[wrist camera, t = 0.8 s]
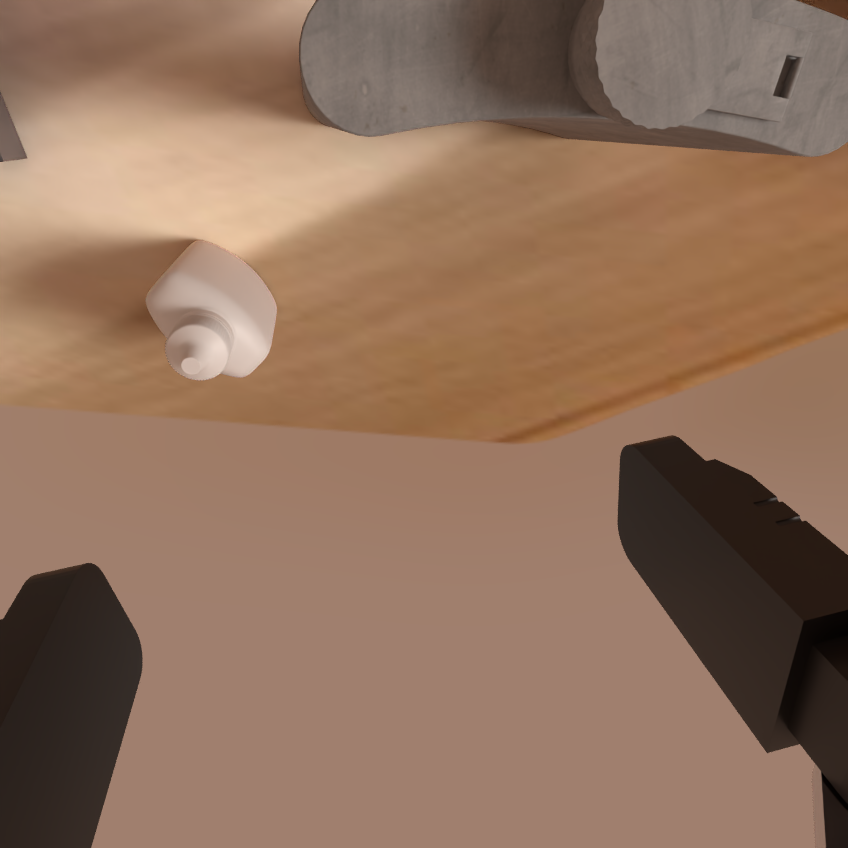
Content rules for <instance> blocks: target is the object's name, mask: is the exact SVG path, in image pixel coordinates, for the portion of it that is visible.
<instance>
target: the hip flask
mask: <svg viewBox="0 0 848 848" xmlns="http://www.w3.org/2000/svg"><path fill="white" fill-rule="evenodd" d="M299 62H300V71H301V79H302V88H303V95H304V100H305V103H306V106H307V107H308V109H309V111H310V113H311V114H312V115H313V116H314V117H315V118H316V119H317V120H318V121H319V122H321V123H322V124H324V125H327V126H329V127H332V128H336V129H339V130H342V131H345V132H348V133H352V134H355V135H359V136H368V137H372V136H382V135H387V134H393V133H398V132H403V131H408V130H413V129H418V128H425V127H432V126H439V125H446V124H453V123H461V122H472V121H488V122H497V123H503V124H510V125H516V126H521V127H526V128H531V129H535V130H539V131H543V132H546V133H550V134H553V135H556V136H560V137H563V138H567V139H578V140H591V141H604V142H618V143H631V144H645V145H658V146H672V147H685V148H698V149H712V150H725V151H739V152H752V153H766V154H779V155H792V156H806V157H813V156H821V155H825V154H828V153H830V152H832V151H834V150H836V149H838V148H840V147H841V146H843V145H844V144H845V143H847V142H848V20H846V19H844V18H842V17H839V16H837V15H835V14H832V13H830V12H827V11H824V10H822V9H819V8H816V7H813V6H810V5H808V4H805V3H802V2H799V1H797V0H316V2H315V3H314V5H313V6H312V8H311V10H310V11H309V13H308V15H307V17H306V20H305V22H304V25H303V27H302V32H301V38H300V43H299Z"/></svg>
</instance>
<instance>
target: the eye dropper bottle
mask: <svg viewBox="0 0 848 848" xmlns="http://www.w3.org/2000/svg"><path fill="white" fill-rule="evenodd" d="M145 301H146V306H147V309H148V311H149V313H150V315H151V316H152V318H153V320H154V322H155V323H156V325H157V326H158V328H159V329H160V330H161V332H162V333H163V334H164V336H165V337H166V338H167V340H166V343H165V344H166V346H165V351H166V352H165V353H166V357H167V360H168V362H169V363H170V365H171V367H172V368H174V370H176V372H178V373H179V374H181V376H184V377H187V378H190V379H193V380H200V381H201V380H207V379H210V378H213V377H216V375H219V374H220V373H221V374H224V375H228V376H233V377H245V376H247V375H249V374H250V373H251V372H253V371H254V370H255V369H256V368H257V367H258V366H259V365H260V364H261V363H262V361H263V360H264V359H265V358H266V357H267V355H268V353H269V351H270V348H271V343H272V338H273V332H274V326H275V320H276V313H277V306H276V303H275V300H274V298H273V296H272V294H271V293H270V291H269V289H268V288H267V286H266V285H265V283H264V282H263V281H262V279H261V278H260V277H259V276H258V274H257V273H256V272H255V271H254V270H253V269H252V268H251V267H250V266H249V265H248V264H246V263H245V262H244V261H243V260H241V259H240V258H239V257H237V256H236V255H234V254H233V253H231V252H229V251H227V250H226V249H224V248H222V247H220V246H218V245H215V244H213V243H210V242H207V241H204V240H196V241H195V242H193V243H191V244H190V245H189V246H188V247H187V248H186V249H185V250H184V251H183V253H182V254H181V255H180V256H179V257H178V258H177V259H176V260H175V261H174V262H173V263H172V265H171V266H170V267H169V268H168V269H167V270H166V271H165V272H164V273H163V275H162V276H161V277H160V278H159V279H158V280H157V281H156V283H155V284H154V285H153V286H152V288H151V289H150V290H149V291H148V293H147V296H146V299H145Z"/></svg>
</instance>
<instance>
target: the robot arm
mask: <svg viewBox="0 0 848 848" xmlns="http://www.w3.org/2000/svg"><path fill="white" fill-rule="evenodd" d="M618 531H619V536H620V540H621V543H622V546H623V548H624V551H625V553H626V555H627V557H628V559H629V560H630V562H631V563H632V565H633V566H634V568H635V569H636V570H637V572H638V573H639V575H640V576H641V577H642V579H643V580H644V582H645V583H646V584H647V586H648V587H649V589H650V590H651V591H652V593H653V594H654V595H655V597H656V598H657V600H658V601H659V603H660V604H661V605H662V607H663V608H664V610H665V611H666V612H667V614H668V615H669V616H670V618H671V619H672V621H673V622H674V624H675V625H676V626H677V628H678V629H679V630H680V632H681V633H682V635H683V636H684V638H685V639H686V640H687V642H688V643H689V645H690V646H691V647H692V649H693V650H694V651H695V653H696V654H697V656H698V657H699V658H700V660H701V661H702V663H703V664H704V665H705V667H706V668H707V670H708V671H709V672H710V674H711V675H712V677H713V678H714V679H715V681H716V682H717V683H718V685H719V686H720V688H721V689H722V690H723V692H724V693H725V695H726V696H727V698H728V699H729V700H730V702H731V703H732V705H733V706H734V707H735V709H736V710H737V712H738V713H739V714H740V716H741V717H742V719H743V720H744V721H745V723H746V724H747V725H748V727H749V728H750V730H751V731H752V733H753V734H754V735H755V737H756V738H757V740H758V741H759V742H760V744H761V745H762V747H763V748H764V749H765V751H766V752H767V753H769V752H773V751H775V750H780V749H783V748H787V747H790V746H794V745H798V744H800V745H801V746H802V747H803V749H804V750H805V751H806V752H807V754H808V755H809V756H810V757H811V759H812V760H813V761H814V763H815V766H814V769H813V772H812V792H813V810H814V812H813V813H814V831H815V848H848V555H847V554H845V553H844V552H843V551H842V550H841V549H839V548H838V547H837V546H836V545H835V544H833V543H832V542H831V541H830V540H829V539H827V538H826V537H825V536H824V535H822V534H821V533H820V532H819V531H817V530H816V529H815V528H814V527H812V526H811V525H810V524H809V523H808V522H807V521H803V522H802V521H801V519H800V516H799V515H798V514H797V513H796V512H795V511H793V510H792V509H791V508H790V507H789V506H787V505H786V504H785V503H784V502H778V500H777V497H776V496H775V495H774V494H773V493H772V492H770V491H769V490H768V489H767V488H765V487H764V486H763V485H762V484H760V483H759V482H758V481H757V480H756V479H755V478H753V477H752V476H751V475H749V474H747V473H745V472H743V471H740V470H738V469H736V468H734V467H731V466H729V465H727V464H725V463H722V462H720V461H718V460H716V459H714V460H710V461H705V460H704V459H703V458H702V457H700V456H699V455H698V454H697V453H696V452H695V451H694V450H693V449H691V448H690V447H689V446H688V445H687V444H686V443H684V441H682V440H681V439H680V438H678V437H676V436H667V437H663V438H658V439H653V440H649V441H644V442H640V443H635V444H631V445H626V446H625V447H624V448H623V450H622V452H621V456H620V474H619V500H618ZM141 672H142V650H141V644H140V640H139V637H138V634H137V633H136V630H135V629H134V627H133V625H132V623H131V622H130V620H129V618H128V617H127V615H126V613H125V611H124V609H123V607H122V606H121V604H120V602H119V600H118V599H117V597H116V595H115V593H114V592H113V590H112V588H111V586H110V585H109V583H108V581H107V579H106V577H105V576H104V574H103V572H102V571H101V570H100V569H99V567H97V566H96V565H95V564H92V563H86V564H82V565H77V566H73V567H68V568H64V569H59V570H55V571H51V572H46V573H41V574H37V575H33V576H31V577H30V578H29V579H28V580H27V581H26V582H25V583H24V585H23V586H22V588H21V590H20V592H19V593H18V595H17V596H16V598H15V600H14V602H13V603H12V605H11V607H10V608H9V610H8V612H7V613H6V615H5V617H4V618H3V619H1V620H0V848H91V846H92V842H93V839H94V835H95V832H96V829H97V825H98V822H99V818H100V815H101V811H102V808H103V805H104V801H105V798H106V794H107V791H108V788H109V784H110V781H111V777H112V774H113V770H114V767H115V763H116V760H117V757H118V753H119V750H120V746H121V743H122V739H123V736H124V733H125V729H126V726H127V722H128V718H129V715H130V712H131V708H132V705H133V702H134V698H135V694H136V691H137V688H138V684H139V681H140V677H141Z"/></svg>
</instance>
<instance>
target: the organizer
mask: <svg viewBox="0 0 848 848" xmlns="http://www.w3.org/2000/svg"><path fill="white" fill-rule="evenodd" d="M25 158H27V156H26V153H25V151H24V149H23V146H22V144H21V141H20V139H19V136H18V134H17V131H16V129H15V127H14V124H13V122H12V119H11V117H10V114H9V112H8V109H7V107H6V105H5V102H4V100H3V97H2V95H1V92H0V162H3V161H11V160H18V159H25Z"/></svg>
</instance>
